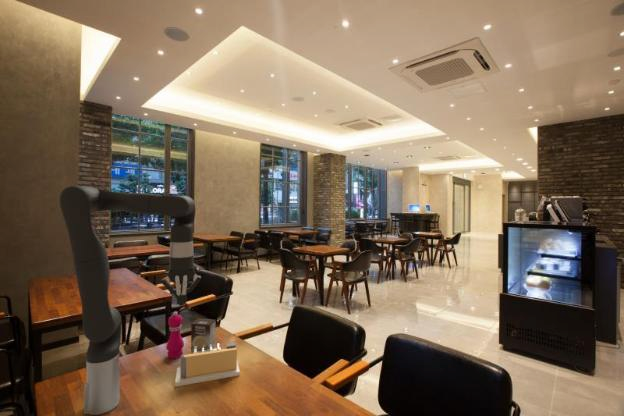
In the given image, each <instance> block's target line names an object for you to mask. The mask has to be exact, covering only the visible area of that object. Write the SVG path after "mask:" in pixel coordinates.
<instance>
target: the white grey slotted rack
mask: <svg viewBox="0 0 624 416" xmlns="http://www.w3.org/2000/svg"><path fill="white" fill-rule="evenodd" d="M225 345H226V346H225V347H226V348H225V349H227V348H234V347H236V348H237V345H236V341H233V342H227V343H225ZM240 375H241V373H240V367H239V361H238V360H237V369H232V370H226V371H220V372H214V373H208V374H202V375H196V376H191V377H186V378H181V377H180V366H178V367H177V368H176V374H175V380H174V387H181V386H186V385H192V384H197V383H205V382H210V381H215V380H220V379H221V380H222V379H226V378H231V377H232V378H233V377H237V376H240Z"/></svg>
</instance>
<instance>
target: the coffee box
mask: <svg viewBox="0 0 624 416" xmlns="http://www.w3.org/2000/svg"><path fill="white" fill-rule="evenodd" d="M216 324H217V323H216V319H212V318H211V319H208V318H199V317H198V318H196V319H195V320H194V321H193V322H192V323H191V324H190V329H191V332H190V333H191V334H190V337H191V338H190V354H193V351H194V348H195V346H197V351H200V350H202V345H204V350H207V349H210V344H212V349H214V348H216Z"/></svg>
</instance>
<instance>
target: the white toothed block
mask: <svg viewBox="0 0 624 416" xmlns="http://www.w3.org/2000/svg"><path fill="white" fill-rule="evenodd" d="M221 349H222V348H221V346H220V343H219V342H218V343H216V347H215V348H214V349H212V344H210V349H207V350H204V345H202V350H200V351H197V346H195V348H194V351H193V353H200V352H207V351H214V350H221Z"/></svg>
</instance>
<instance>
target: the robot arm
mask: <svg viewBox="0 0 624 416" xmlns="http://www.w3.org/2000/svg"><path fill="white" fill-rule="evenodd" d="M59 206H60V210H61V215H62V217H63V220H64V223H65V226H66V229H67V234H68V238H69V244H70V248H71V249H70V250H71V254H72V261H73V267H74V274H75V277H76V281H77V282H76V283H77V288H78V292H79V293H78V294H79V297H80V302H81V314H82V315H81V316H82V332H83V335H84V337H85V338H86V339H87V340H88V341H89V343H88V347H87V351H86V353H85V354H86V361H85V362H86V365H85V366H86V367H85V368H86V383H85V384H84V385H83V391H84V392H83V395H84V396H83V399H84V400H83V402H84V404H83V405H84V406H83V407H84V408H83V409H84V410H83V411H84V412H83V414H84V415H91V416H98V415H103V414H106V413H108V412H110V411H112V410H114V409H115V408H116V407H117V406H118V405H119V404H120V347H121V346H120V345H121V343H122V342H121V341H122V315H121V312H119V310H118V309H117V308H116V307H113V306H110V302H109V285H110V275H111V274H110V271H111V270H110V262H109V256H108V252H107V248H106V246H105V245H104V243H103V242H102V241H101V239H100V238H99V237H98V235H97V234H96V232H95V229H94V228H93V222H92V217H91V216H92V215H91V214H92V213H96V212H105V211H106V212H107V211H116V212H117V211H121V212H126V213H131V214H136V215H137V214H138V215H149V216H151V215H152V216H164V217H171V218H174V219H173V220H174V221H173V224H172V225H171V227H170V231H169V232H170V233H169V234H170V243H169V253H168V254H169V271H168V273H167V276H166V277H163V278H162V279H161V282H160V283H161V284H162V285H163V287H165V288H166V290H167V291H168V292H170V294H172V295H176V304H177V305H178V306H179V307H184V305H185V304H186V303H187V294H190V293H191V292H192V291H193V290H194V289H195V288H196V286H197V285H198V284H199V283H200V282H201V280H202V276H201V275H198V274H197V273H196V271H195V269H194V267H195V266H194V262H195V261H194V259H195V258H194V255H195V254H194V253H195V252H194V249H195V248H194V236H193V235H194V230H193V227H194V223H195V216H196V204H195V201H194V199H193V198H191V197H190V196H187V195H162V194H155V193H143V192H116V191H112V190H106V189H102V188H97V187H94V186H90V185H70V186H67V187H65V188H64V189H63V190H61V193H60V195H59ZM192 279H193V280H192ZM170 281H171V282H172V283H170ZM191 281H193V282H192V283H191V284H190V286H188V284H189V283H190V282H191ZM172 284H174V285H175V287H174V285H172Z"/></svg>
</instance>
